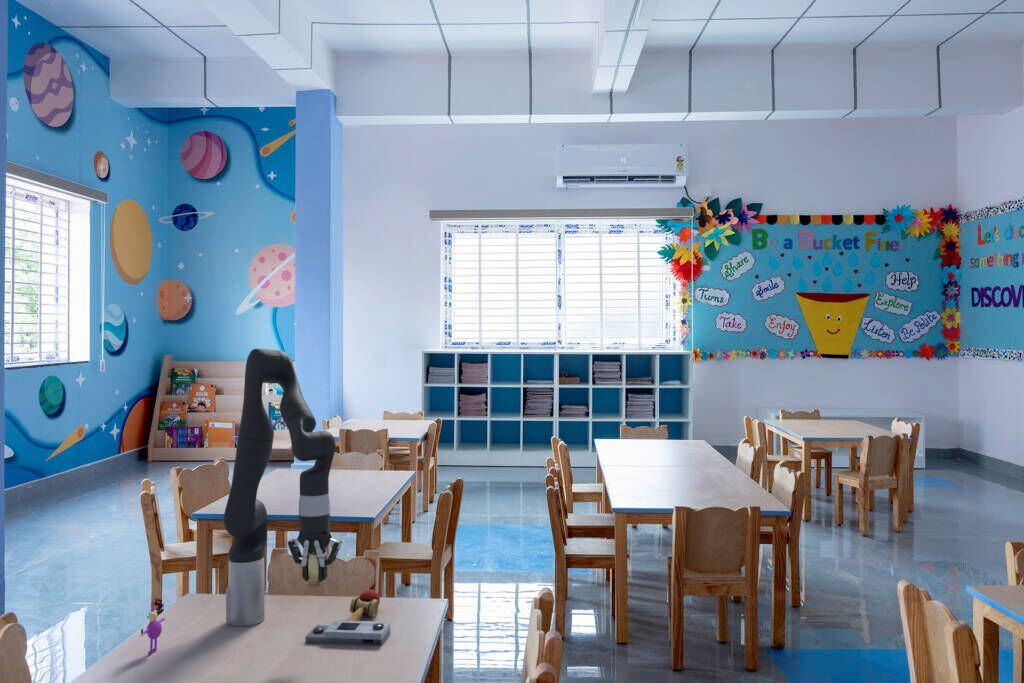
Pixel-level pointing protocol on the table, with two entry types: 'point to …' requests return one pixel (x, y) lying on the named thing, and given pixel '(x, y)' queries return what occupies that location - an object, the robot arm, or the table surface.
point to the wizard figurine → (153, 627)
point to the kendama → (364, 605)
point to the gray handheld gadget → (350, 632)
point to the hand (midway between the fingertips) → (315, 580)
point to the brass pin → (313, 570)
